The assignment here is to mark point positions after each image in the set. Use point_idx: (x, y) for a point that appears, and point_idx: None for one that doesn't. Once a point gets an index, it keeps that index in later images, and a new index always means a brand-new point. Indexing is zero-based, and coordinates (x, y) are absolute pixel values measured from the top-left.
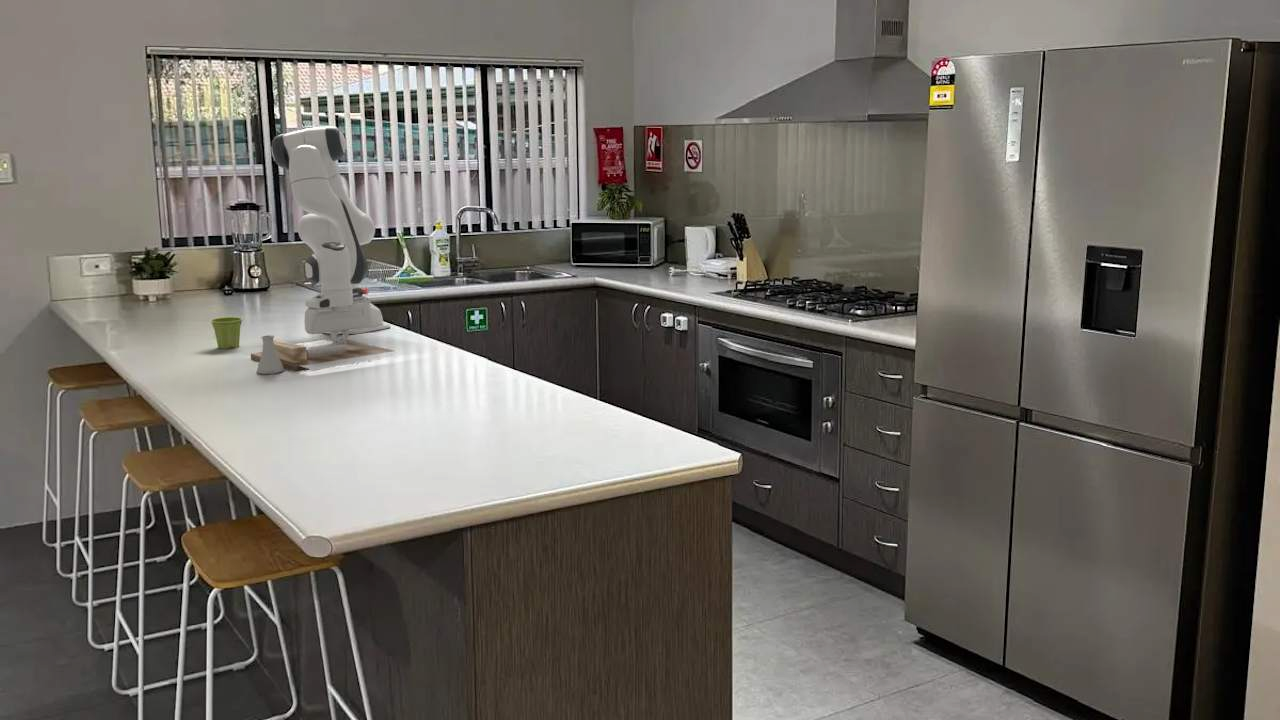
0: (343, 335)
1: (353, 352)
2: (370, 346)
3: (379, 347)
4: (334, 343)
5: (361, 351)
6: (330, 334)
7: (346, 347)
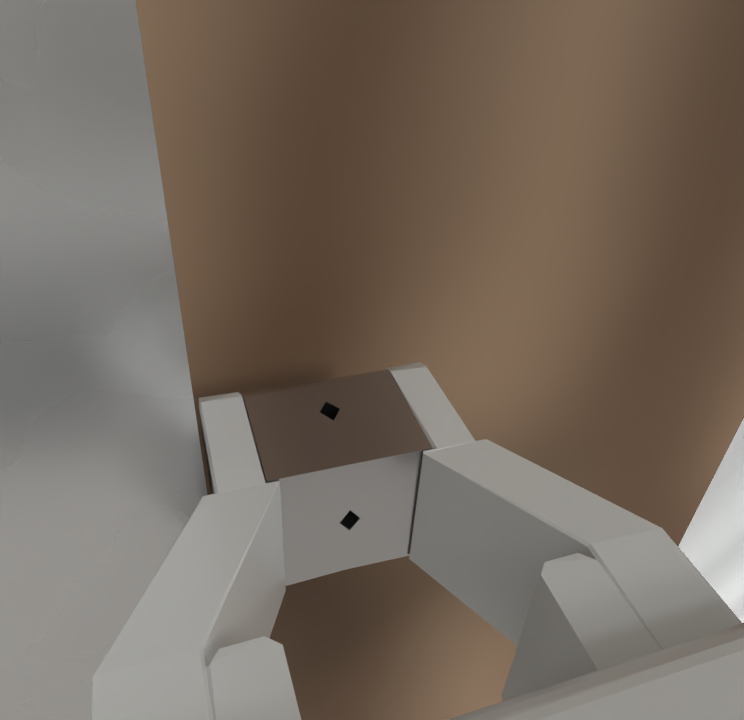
0: (503, 554)
1: (302, 641)
2: (715, 389)
3: (691, 503)
4: (92, 669)
5: (409, 620)
6: (96, 693)
7: (489, 234)
